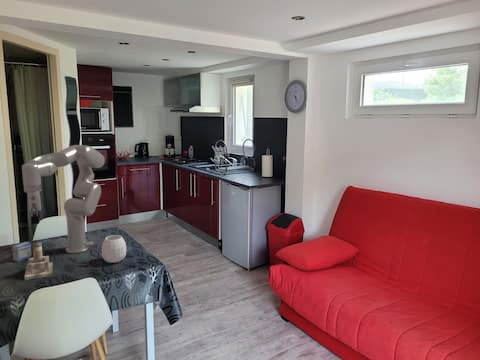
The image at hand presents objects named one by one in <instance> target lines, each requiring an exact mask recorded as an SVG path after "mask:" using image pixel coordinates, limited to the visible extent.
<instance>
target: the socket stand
mask: <svg viewBox="0 0 480 360" xmlns="http://www.w3.org/2000/svg"><path fill="white" fill-rule="evenodd" d="M42 256H43V255H42ZM53 264H54V263H53V262H52V261H51V262H50V257H49V255H44V256H43V262H38V263H34V257H30V258H28V260H27V265H26V269H25V273H24V280H25V281H28V280H35V279H42V278H46V277H52V276H53V268H54V267H53V266H54V265H53Z"/></svg>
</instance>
